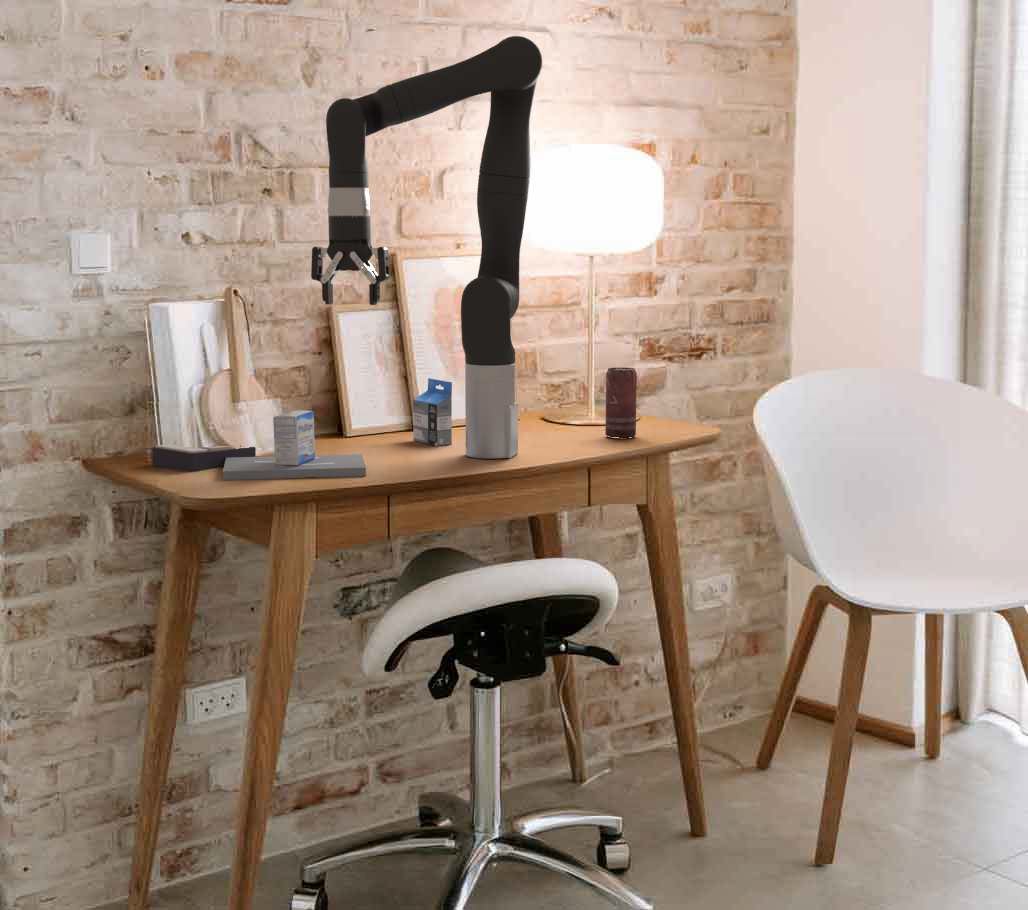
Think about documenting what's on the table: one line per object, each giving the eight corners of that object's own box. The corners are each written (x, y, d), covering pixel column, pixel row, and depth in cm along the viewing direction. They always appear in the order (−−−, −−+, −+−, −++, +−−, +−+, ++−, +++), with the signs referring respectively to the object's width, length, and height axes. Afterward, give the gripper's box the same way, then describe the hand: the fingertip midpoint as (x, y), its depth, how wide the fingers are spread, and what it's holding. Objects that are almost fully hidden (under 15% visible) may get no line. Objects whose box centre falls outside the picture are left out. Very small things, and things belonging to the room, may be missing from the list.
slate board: (361, 462, 248) (361, 454, 248) (366, 476, 234) (365, 467, 234) (226, 465, 244) (226, 457, 244) (222, 480, 231) (222, 471, 230)
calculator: (256, 442, 249) (190, 449, 238) (256, 466, 250) (190, 473, 238) (217, 437, 256) (151, 442, 244) (217, 459, 257) (151, 466, 245)
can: (628, 440, 273) (629, 370, 271) (600, 437, 277) (601, 368, 274) (642, 436, 278) (643, 367, 276) (614, 433, 282) (615, 366, 279)
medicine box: (298, 466, 235) (297, 416, 233) (274, 465, 236) (272, 415, 234) (315, 459, 242) (314, 410, 241) (292, 458, 243) (290, 409, 242)
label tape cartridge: (412, 440, 273) (411, 379, 271) (428, 439, 275) (427, 377, 273) (436, 446, 266) (436, 383, 264) (453, 444, 268) (452, 382, 266)
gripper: (393, 214, 248) (395, 304, 251) (319, 214, 251) (321, 303, 254) (380, 213, 241) (381, 306, 243) (304, 213, 244) (306, 305, 247)
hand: (351, 304), depth 249 cm, fingers open, 8 cm apart
